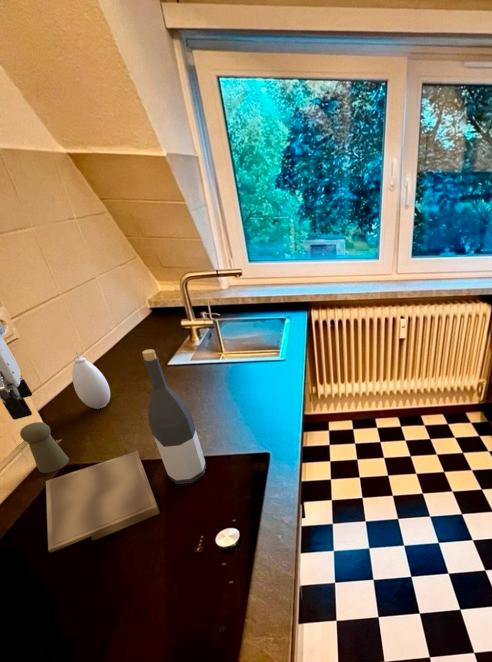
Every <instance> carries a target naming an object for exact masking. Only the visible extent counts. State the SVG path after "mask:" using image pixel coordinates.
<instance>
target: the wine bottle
mask: <svg viewBox="0 0 492 662" xmlns="http://www.w3.org/2000/svg"><path fill="white" fill-rule="evenodd" d="M141 355H142V357H143V359H142V361H143V364H144V366H145V369H146V372H147V375H148V378H149V380H150V383H151V387H152V392H151V397H150V400H149V403H148V411H147V412H148V413H147V417H148V418H147V419H148V426H149V428H150V431H151V433H152V436H153V438H154V441H155V444H156V446H157V447H156V448H157V449H158V452H159V455H160V457H161V460H162V463H163V466H164V468H165V471H166V473H167V476H168V478H169V480H170V479H171V480H172V481H171V480H170V481H171V482H173V481H174V482H175V483H174V482H173V483H174V484H176V483H177V484H184V483H185V485H187V484H186V483H193V482H194V481H196V480H197V479H199V478H200V477H202V476H203V475H204V473H205V474H206V471H205V469H206V470H207V464H206V460H205V456H204V453H203V449H202V446H201V442H200V438H199V436H198V433H197V429H196V425H195V422H194V419H193V416H192V412H191V410H190V409H189V407H188V405H187V403H185V401H184V400H183V399H182V398H181V397H180V396H179V395H178V394H177V393H176V392H175V391H173V390H172V389H171V388H170V387H169V386H168V385H167V382H166V378H165V375H164V372H163V369H162V367H161V363H160V358H159V356H157V353H156V350H155V349H145V350H143V351H142V354H141ZM204 476H205V475H204ZM204 476H203V477H204ZM203 477H202V478H203ZM200 479H201V478H200ZM200 479H199V480H200ZM197 481H198V480H197ZM197 481H196V482H197ZM194 483H195V482H194ZM194 483H193V484H194ZM177 484H176V485H177Z"/></svg>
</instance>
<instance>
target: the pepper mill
mask: <svg viewBox="0 0 492 662" xmlns="http://www.w3.org/2000/svg"><path fill="white" fill-rule="evenodd" d="M51 432H52V431H51V427H50V426H49V425H48V424H47V423H45V422H43V421H35V422H32V423H29V424H27V425H24V426H23V427H22V428H21V429H20V432H19V434H20V435H19V436H20V437H21V439H22V440H23V442H25V443H27V444H28V446H29V449H30V452H31V454H32V456H33V459H34V462H35V465H36V468H37V470H38V471H39V472H40V473H42V474H49V473H53V472H56V471H59V470H61V469H63V468H64V467H65V466H67V465H68V464H69V462H70V458H69V457H68V455H66V453H65V452H64V451H63V449H62V448H61V446H60V445H59V444H58V443H57V442H56V441H55V439H54V438H53V436H52V435H51Z"/></svg>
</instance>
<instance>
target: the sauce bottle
mask: <svg viewBox="0 0 492 662" xmlns="http://www.w3.org/2000/svg"><path fill="white" fill-rule="evenodd" d="M74 352H75V354H76V356H77V357H76V358H74V361H73V362H74V364H73V367H72V384H73V387H74V391H75V393H76V395H77V397H78V398H79V400H81V402H82V403H83V404H85V405H86V406H87V407H89V408H91V409H96V410H100V408H101V409H103V408H104V407H106V406H107V404H109V403H110V400H111V389H110V386H109V383H108V381H107V379H106V378H105V375H104V374H103V373H102V372H101V370H99V368H97V366H96V365H94V364H93V363H91V362H90V361H89V360H87V359H86V357H83V356H80V355H79V352H78V350H77V349H74Z"/></svg>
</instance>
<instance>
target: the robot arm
mask: <svg viewBox="0 0 492 662" xmlns="http://www.w3.org/2000/svg"><path fill="white" fill-rule="evenodd" d="M7 334H8V333H7V330H6V329H5V327H4V325H3V323H2V321H1V320H0V401H1V402H2V404H3V406H4V408H5V409H6V410H7V413H8V414H9V416H10V417H11V418H12V420H19V419H23V418H26V417H30V416H33V412H32V410H31V408H30V407H29V405H28V403H27V402H26V400H25V398H29V397H32V396H33V392H32V390H31V388H30V387H29V385H28V384H27V382H26V380H25V379H24V378H23V376H22V373H21V371H22V370H21V368H20V366H19V364H18V362H17V360H16V358H15V357H14V355H13V353H12V351H11V349H10V348H9V346H8V344H7V342H6V341H5V339H4V336H7Z"/></svg>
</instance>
